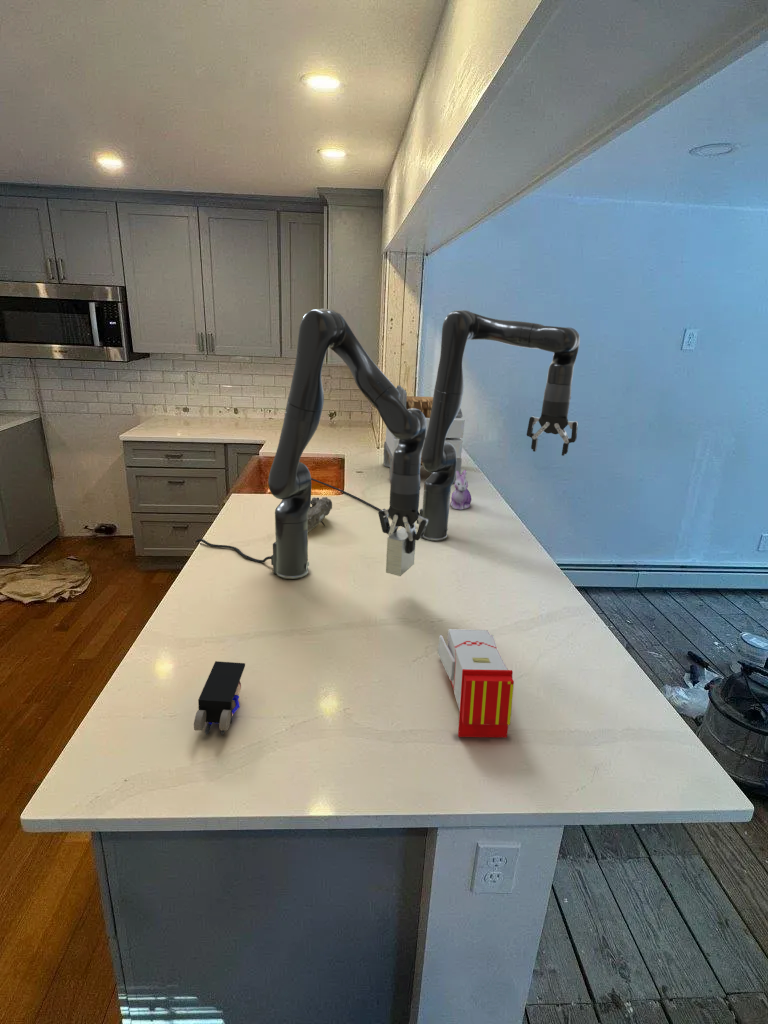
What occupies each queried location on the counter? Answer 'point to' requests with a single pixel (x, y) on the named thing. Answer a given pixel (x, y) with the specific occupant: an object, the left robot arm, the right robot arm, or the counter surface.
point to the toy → (478, 682)
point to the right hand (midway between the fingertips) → (548, 453)
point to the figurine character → (219, 696)
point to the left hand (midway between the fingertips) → (401, 550)
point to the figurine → (461, 492)
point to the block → (398, 553)
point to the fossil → (318, 511)
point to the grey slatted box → (425, 407)
